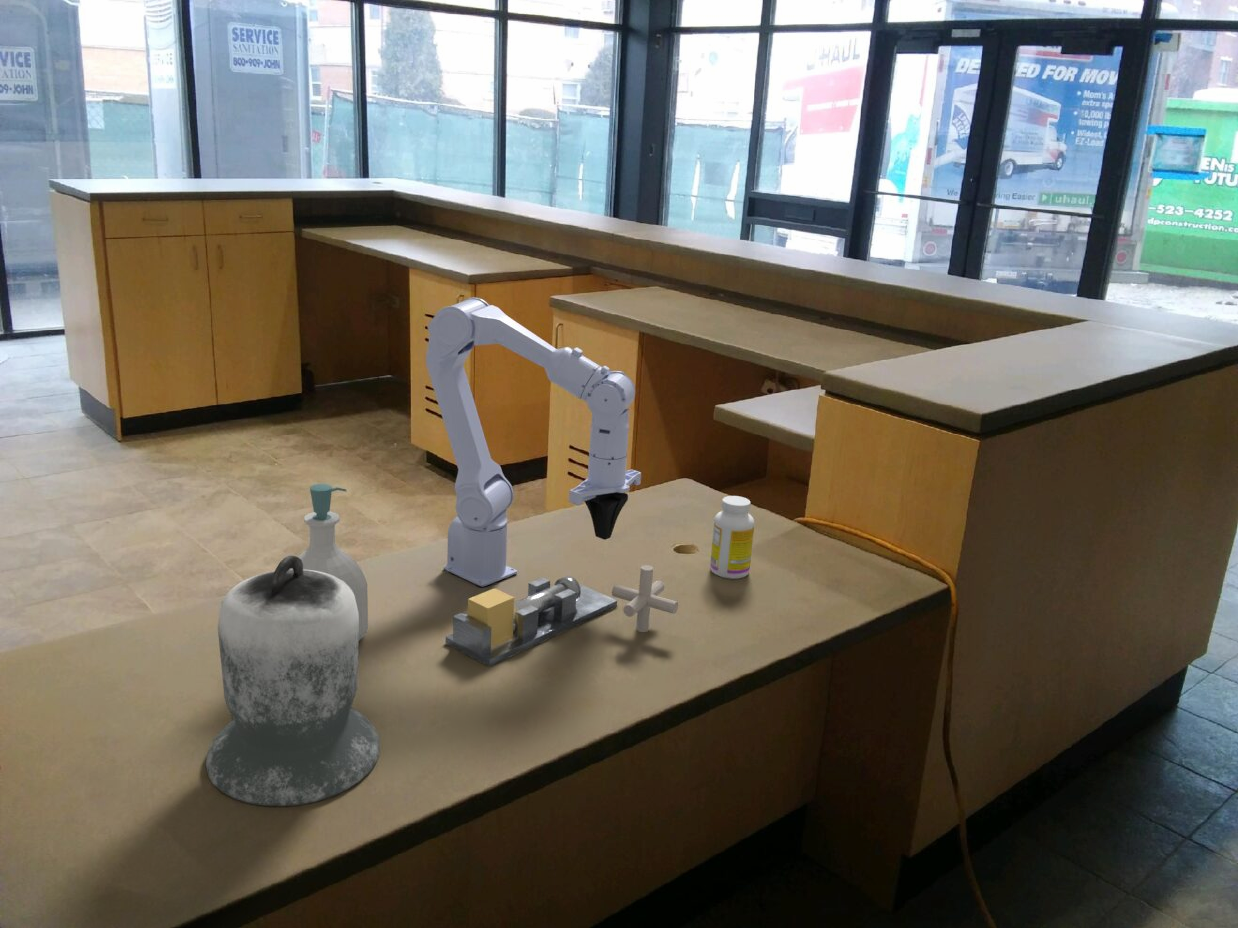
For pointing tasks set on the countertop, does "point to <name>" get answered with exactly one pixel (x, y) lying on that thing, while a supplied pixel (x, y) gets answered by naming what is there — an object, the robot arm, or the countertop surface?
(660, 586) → the white crossed rods piece
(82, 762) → the countertop surface
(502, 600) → the block
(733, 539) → the supplement bottle
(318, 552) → the soap bottle
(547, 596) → the shaft
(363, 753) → the bell
